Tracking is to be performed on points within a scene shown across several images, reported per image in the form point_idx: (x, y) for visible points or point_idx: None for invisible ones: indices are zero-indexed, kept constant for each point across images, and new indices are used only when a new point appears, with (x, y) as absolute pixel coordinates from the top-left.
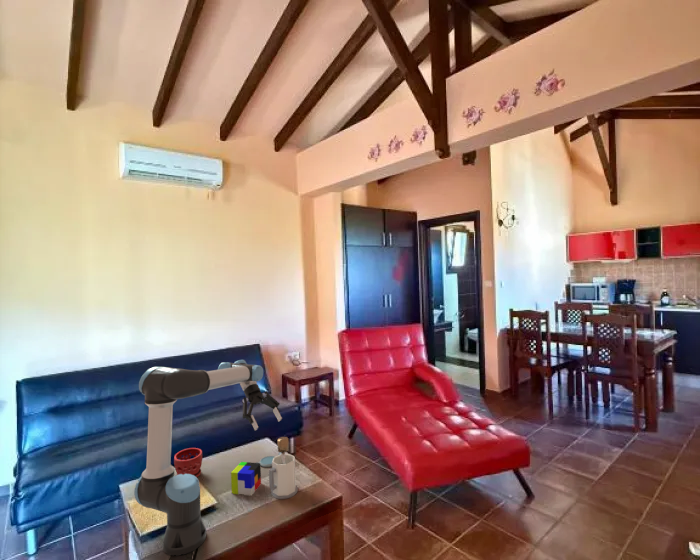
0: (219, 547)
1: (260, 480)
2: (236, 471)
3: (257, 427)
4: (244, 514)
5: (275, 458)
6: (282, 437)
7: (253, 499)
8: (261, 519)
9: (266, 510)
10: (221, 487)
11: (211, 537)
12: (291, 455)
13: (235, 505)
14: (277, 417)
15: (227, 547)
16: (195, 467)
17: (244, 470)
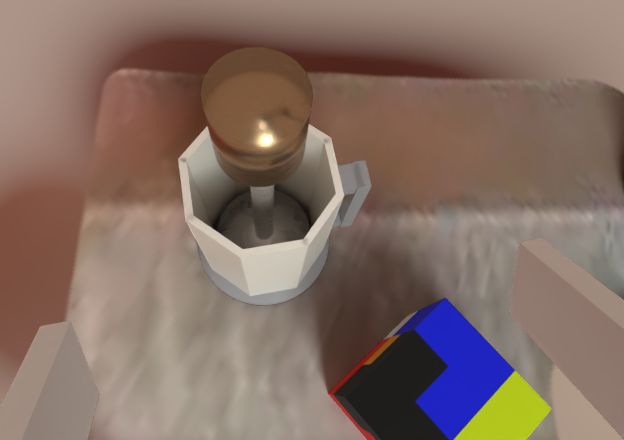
0: (588, 98)
1: (335, 389)
2: (516, 396)
3: (533, 243)
4: (475, 203)
5: (293, 243)
6: (238, 130)
7: (410, 279)
8: (427, 133)
9: (390, 169)
10: None
11: (607, 158)
12: (186, 189)
13: (493, 288)
14: (74, 430)
15: (565, 82)
16: None
17: (467, 372)
